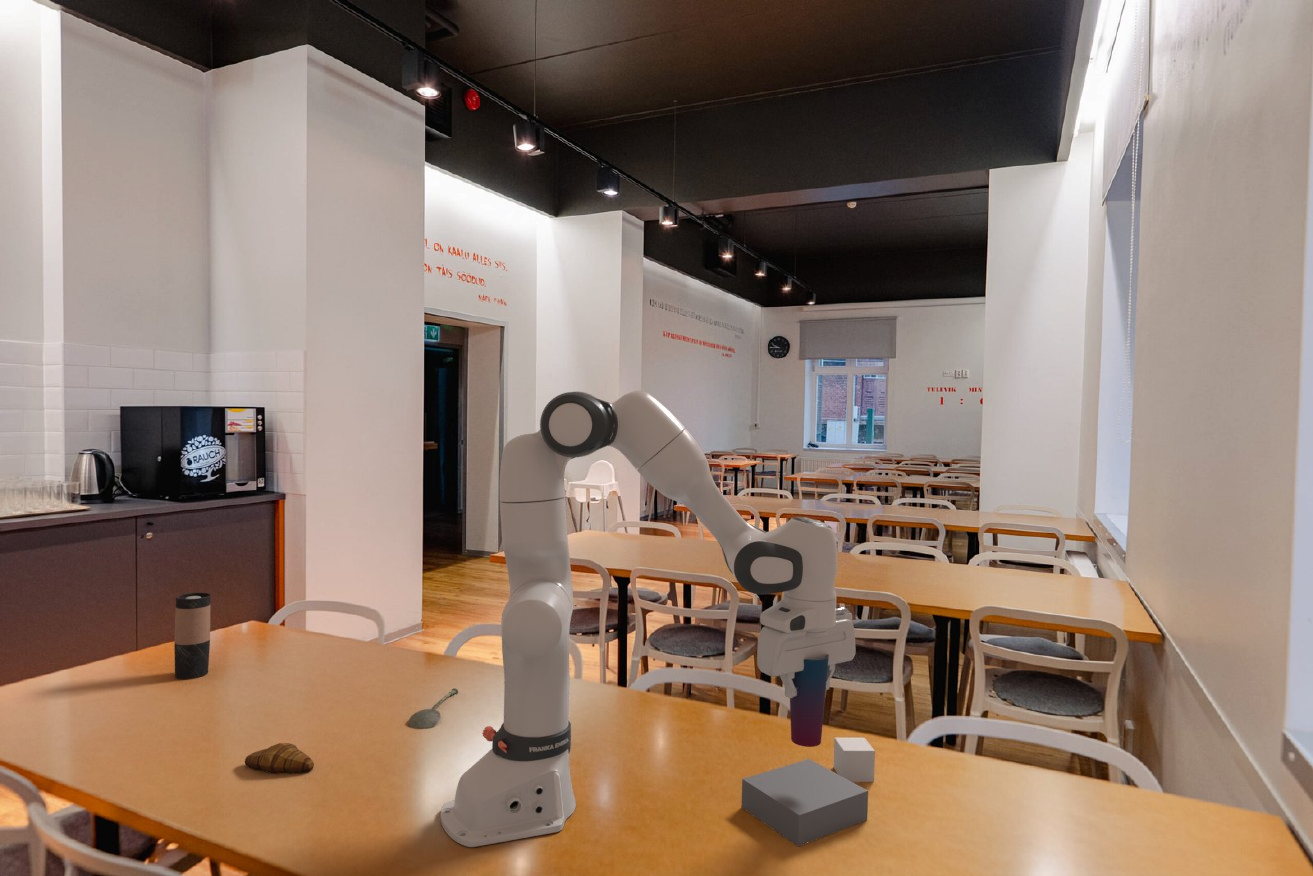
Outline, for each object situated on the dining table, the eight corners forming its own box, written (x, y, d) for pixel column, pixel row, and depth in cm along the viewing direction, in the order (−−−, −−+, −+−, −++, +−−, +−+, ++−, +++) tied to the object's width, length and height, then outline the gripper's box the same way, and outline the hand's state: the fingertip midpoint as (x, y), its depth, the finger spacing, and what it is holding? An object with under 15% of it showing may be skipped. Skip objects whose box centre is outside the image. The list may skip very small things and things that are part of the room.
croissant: (323, 765, 141) (324, 738, 141) (301, 781, 134) (302, 754, 134) (258, 758, 143) (259, 732, 143) (233, 774, 136) (234, 747, 136)
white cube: (863, 768, 146) (864, 737, 146) (874, 782, 140) (875, 750, 140) (833, 767, 145) (834, 737, 145) (842, 782, 139) (843, 750, 139)
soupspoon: (402, 733, 158) (431, 737, 157) (403, 718, 158) (432, 721, 157) (442, 693, 180) (468, 696, 179) (443, 679, 180) (469, 682, 179)
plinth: (798, 846, 117) (799, 815, 117) (741, 807, 129) (742, 779, 129) (867, 820, 126) (868, 790, 126) (808, 785, 137) (809, 758, 137)
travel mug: (215, 673, 188) (217, 595, 188) (183, 682, 182) (184, 600, 182) (199, 668, 192) (201, 591, 192) (167, 675, 186) (169, 596, 186)
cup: (827, 751, 123) (829, 661, 123) (785, 747, 124) (788, 658, 124) (825, 735, 130) (828, 649, 130) (786, 731, 131) (788, 646, 131)
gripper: (838, 602, 135) (836, 677, 135) (752, 615, 124) (750, 697, 124) (865, 609, 130) (863, 688, 130) (778, 624, 119) (775, 709, 119)
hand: (807, 693), depth 127 cm, fingers closed on cup, 6 cm apart
